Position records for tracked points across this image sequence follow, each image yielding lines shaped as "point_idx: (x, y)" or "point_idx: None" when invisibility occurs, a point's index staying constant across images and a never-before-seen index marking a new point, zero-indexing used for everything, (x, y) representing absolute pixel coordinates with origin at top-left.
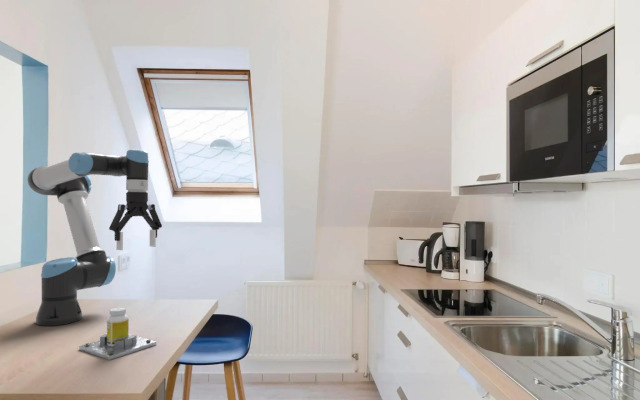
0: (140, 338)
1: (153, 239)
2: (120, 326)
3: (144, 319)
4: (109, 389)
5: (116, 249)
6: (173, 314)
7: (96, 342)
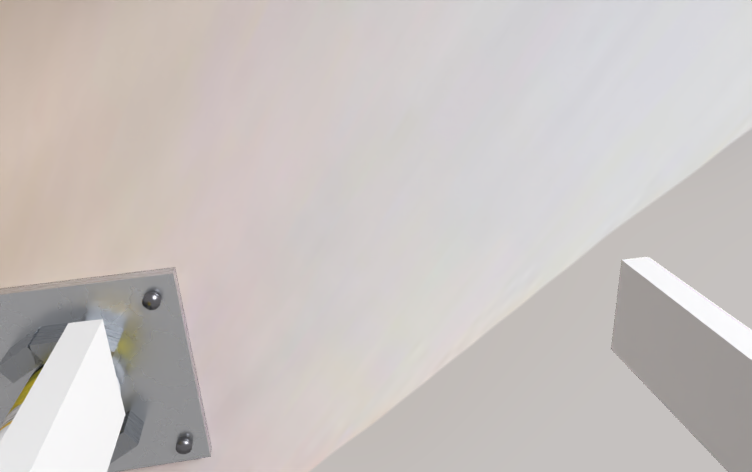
0: (183, 385)
1: (672, 404)
2: None
3: (387, 66)
4: None
5: (69, 323)
6: (542, 102)
7: (7, 306)
